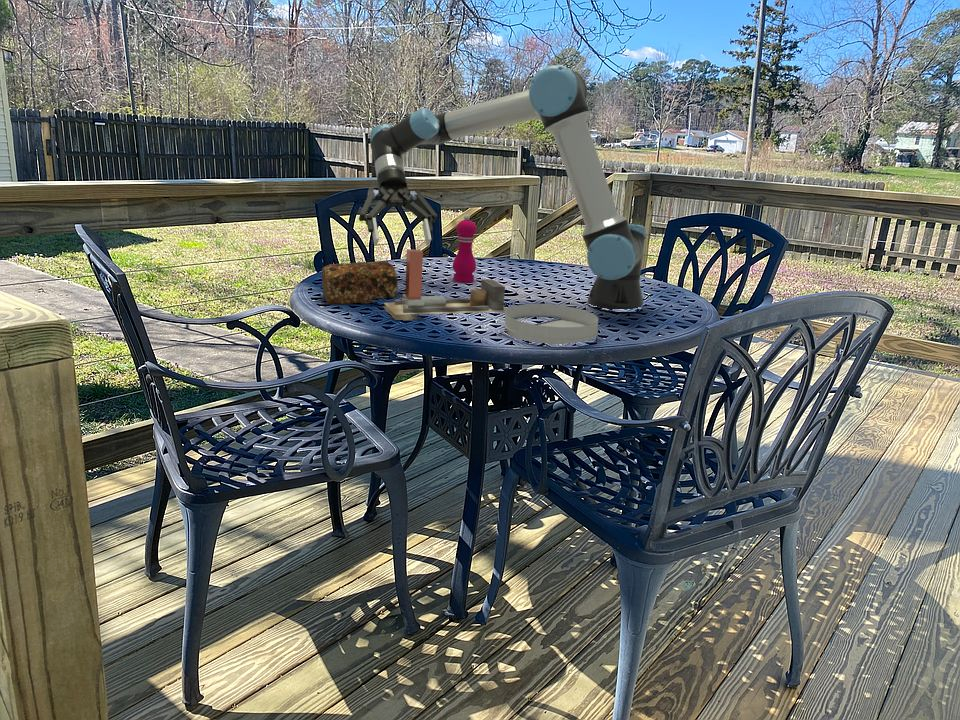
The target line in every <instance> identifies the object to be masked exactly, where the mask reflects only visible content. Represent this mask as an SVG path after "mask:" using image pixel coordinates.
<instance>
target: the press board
mask: <svg viewBox="0 0 960 720" xmlns="http://www.w3.org/2000/svg"><path fill="white" fill-rule="evenodd" d="M480 281H481V282H480V289H482V290H486V306H470V298H469V297H466V298H465V297H464V298H460V297H459V298H457V297H456V298H445V299H446V307H421V308H406V307H405V306H403V305H402V299H394V302H383V304H384V305H383V306H382V307H383V308H384V309H385V310H386V311H387V312H388V313H389V314H390V315H391V316H392V317H393V318H394V319H395V320H403V321H426V320H427V319H425V318H424V317H420V316H417V315H436V314H437V315H438V314H464V313H465V314H466V313H467V314H469V313H500V312H504V313H505V311H506V310H507V309H508V308H507V307H505V305H504V304H505V294H506V293H505V291H506V286H505V285H503V284H501V283H500V282H497V281H496V280H494V279H493V278H492V279H491V278H489V279H487V278H485V279H484V278H481V280H480ZM384 309H383V310H384ZM385 310H384V311H385ZM386 311H385V312H386ZM387 312H386V313H387ZM388 313H387V314H388ZM389 314H388V315H389ZM390 315H389V316H390ZM391 316H390V317H391ZM392 317H391V318H392ZM393 318H392V319H393ZM394 319H393V320H394ZM413 319H415V320H413ZM417 319H418V320H417ZM419 319H421V320H419ZM395 320H394V321H395Z"/></svg>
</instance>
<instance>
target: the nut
mask: <svg viewBox="0 0 960 720" xmlns="http://www.w3.org/2000/svg"><path fill="white" fill-rule="evenodd" d="M469 296H470V306H486V290H482V289H481V288H473V289H470V295H469Z"/></svg>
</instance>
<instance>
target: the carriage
mask: <svg viewBox="0 0 960 720" xmlns="http://www.w3.org/2000/svg"><path fill="white" fill-rule="evenodd" d="M405 257H406V258H405V259H406V260H405V261H406V262H405V288H404V289H405V291H404V293H402V295H401V300H402V305H403V306H405V307H406V308H421V307H446V299H447V298H445V296H443V295H422V289H423V288H422V287H423V285H422V283H423V263H424V262H423V261H424V252H423V251H422V250H421V249H409V248H408V249H406V256H405Z"/></svg>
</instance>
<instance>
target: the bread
mask: <svg viewBox="0 0 960 720" xmlns="http://www.w3.org/2000/svg"><path fill="white" fill-rule="evenodd" d="M321 280H322V281H321V284H322V285H321V286H322V287H321V289H322V294H323V297H324V300H325V301H326V303H327V304H328V305H335V304H338V305H346V304H347V305H355V304H356V303H361V304H362V303H363V304H364V303H365V304H376V302H375V301H373V300H376V299H384V298H385V299H390V298H391V299H395V298H397V293H398V285H399V284H398V275H397V273H396V269H395V267H394V265H393V264H392V263H390V262H387V261H364V262H363V261H362V262H360V261H359V262H351V263H332V264H327V265H325V266H323V267H322V269H321ZM371 300H372V301H371ZM353 303H355V304H353Z"/></svg>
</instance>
